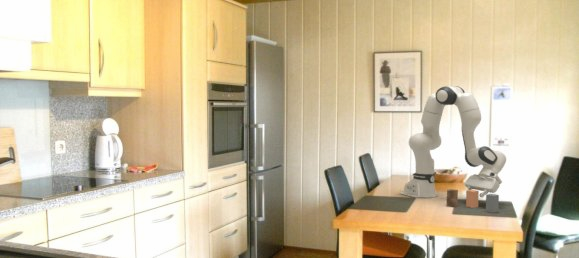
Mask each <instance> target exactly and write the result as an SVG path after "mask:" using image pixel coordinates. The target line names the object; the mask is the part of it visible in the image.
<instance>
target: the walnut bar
mask: <svg viewBox="0 0 579 258" xmlns="http://www.w3.org/2000/svg"><path fill="white" fill-rule="evenodd" d="M458 193H459V190H458V189H453V188H449V189H447V190H446V207H451V208H456V207H458V204H459V203H458V199H459V198H458V196H459V195H458Z"/></svg>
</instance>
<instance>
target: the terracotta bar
mask: <svg viewBox="0 0 579 258" xmlns="http://www.w3.org/2000/svg"><path fill="white" fill-rule="evenodd" d="M465 191H466V192H465V194H466V195H465V196H466V197H465V199H466V200H465V206H466V207H467V208H471V209H475V208H476V209H477V208H479V195H480V193H479V191H480V190H475V189H472V190H467V189H466V190H465ZM466 207H465V208H466Z"/></svg>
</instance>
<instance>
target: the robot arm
mask: <svg viewBox="0 0 579 258" xmlns="http://www.w3.org/2000/svg"><path fill="white" fill-rule="evenodd" d="M452 105H455V107H457V110H458V113H459V117H460V122H461V135H462V139H463V140H462V141H463V145H464V160H465V163H466V164H467V165H468V166H469V167H473V168H477V167H480V166H482V168H481V169H480V171H479V173H478V174H476V173H475V174H472V175H470V176H469V177H468V178H467V179H466V180H465V182H464V183H463V184H464V186H465V188H466V190H476V191H481V192H480V193H479V195H478V197H480V198H484V196H486V195H487V194H496V192H497V191H498V189H500V185H501V184H502V183H503V181H502V179H501V178H500V177H499V173H500V172H501V171H502V170H503V168H504V166H505V165H506V163H507V157H506V155H505V154H504V153H503V152H502V151H501V150H500V151H499V150H494V149H491V148H490V147H489V146H487V145H486V146H485V145H484V146H480V147H477V146H476V140H475V131H476V128H477V127H478V126H479V124H480V123H481V121H482V114H481V110H480V107H479V103H478V102H477V99H476V97H475V96H474V94H473V93H471V92H465V90H464V89H463V88H462V87H460V86H457V85H456V86H455V85H448V86H441V87H440V88H438V89H437V90H436V91H435V93H431V94H430V95H429V96H428V97H427V99H426V102H425V105H424V108H423V111H422V115H421V120H420V122H421V125H422V132H419V133H415V134H413V135H411V136H410V137H409V139H408V146H409V148H410V149H411V150H412V152H413V155H414V159H415V172H414V173H412V175H411V176H413V178H411V179H410V180H409V181H407V182H406V183H405V184H404V189H403V190H402V191H400V193H399V194H401V195H405V196H409V197H410V198H411V197H412V198H425V199H426V198H427V199H428V198H430V199H431V198H436V197H437V191H436V187H435V179H436V173H435V160H434V159H433V157H432V155H431V151H432V150H433V151H434V150H436V149H437V148H440V146H441V145H442V137H441V136H440V124H441V121H442V116H443V112H444V109H445V107H446V106H452Z"/></svg>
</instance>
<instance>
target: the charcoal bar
mask: <svg viewBox="0 0 579 258" xmlns="http://www.w3.org/2000/svg"><path fill="white" fill-rule="evenodd" d="M499 197H500V195H499V194H496V193H488V194H486V195H485V198H486V199H485V200H486V201H485V212H486V213H492V214H496V213H499V203H500V201H499V199H500V198H499Z"/></svg>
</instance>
